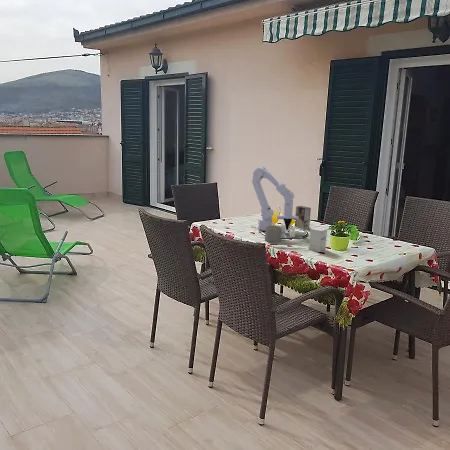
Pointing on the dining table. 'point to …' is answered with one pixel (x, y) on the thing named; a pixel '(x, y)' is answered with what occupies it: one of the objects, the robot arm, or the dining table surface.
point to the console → (297, 235)
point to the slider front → (292, 233)
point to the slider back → (283, 228)
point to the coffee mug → (273, 234)
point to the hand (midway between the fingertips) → (286, 229)
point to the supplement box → (317, 239)
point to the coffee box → (303, 217)
